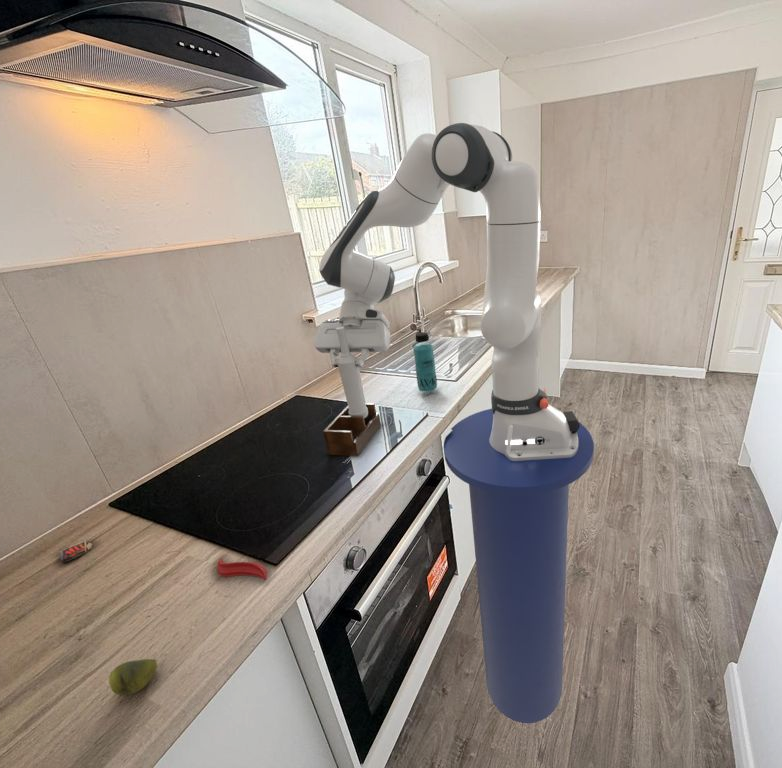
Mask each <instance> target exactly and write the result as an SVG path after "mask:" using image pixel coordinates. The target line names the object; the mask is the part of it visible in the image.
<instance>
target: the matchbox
mask: <svg viewBox="0 0 782 768" xmlns="http://www.w3.org/2000/svg"><path fill="white" fill-rule="evenodd" d="M92 548H93V544H92V542H88V543H87V541H86V540H83V541H81V542H78V543H76V544H73V545H70V546H69V547H66V548H65V549H62V550H60V557H61V558H60V561H62V562H63V563H66V562H69V561H72V560H75V559H76V558H78V557H80V556H82V555H84V554H86V553H87V551H89V550H90V549H92Z"/></svg>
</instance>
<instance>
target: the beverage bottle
mask: <svg viewBox="0 0 782 768" xmlns="http://www.w3.org/2000/svg"><path fill="white" fill-rule="evenodd" d="M429 340H430V337H429V333H427V332H417V333H415V343H416V342H417V343H416V344H415V345H414V346H413V356H414V364H415V366H414V367H415V375H416V376H415V377H416V378H415V379H416V383H417V389H418V390H419V391H420V392H423V393H424V392H427V393H428V392H432V391H434V390H436V389H437V387H438V378H437V372H436V361H435V354H434V345H433V344H431V343H430V342H428V341H429Z"/></svg>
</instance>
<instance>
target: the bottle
mask: <svg viewBox="0 0 782 768" xmlns="http://www.w3.org/2000/svg"><path fill="white" fill-rule="evenodd" d="M336 330H337V335H338V338H339V343H340V348H341V352H342V353H341V354H340V356H339V358H337V359H338V361H337V364H338V367H337V368H338V371H339V374H340V379H341V383H342V388H343V392H344V396H345V400H346V403H347V406H348V408H349V416H364V418H366V417H367V416H368V408H367V407H366V403H367V402H366V398H365V392H364V386H363V382H362V376H361V371H360V367H357V366H355V362H356V359H358V357H357V356H355V354H354V355H353V354H352V352H349V347H348V343H347V338H346V332H345V328H344V327H338V328H336Z"/></svg>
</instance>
